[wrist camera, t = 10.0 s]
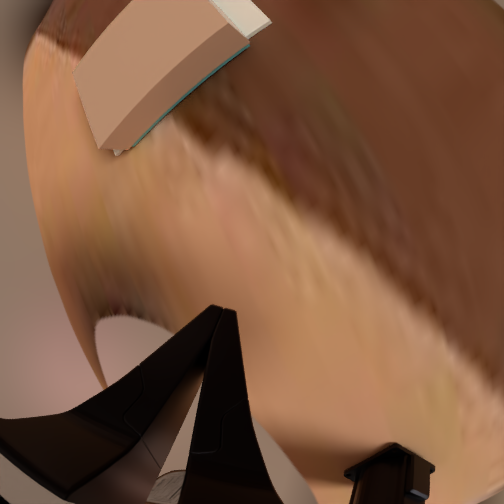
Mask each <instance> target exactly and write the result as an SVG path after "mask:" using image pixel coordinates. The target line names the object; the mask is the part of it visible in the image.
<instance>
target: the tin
mask: <svg viewBox="0 0 504 504" xmlns="http://www.w3.org/2000/svg"><path fill="white" fill-rule="evenodd" d="M185 471H186V470H174V471H170V472H168V473H165V474H163V475H162V476H160V477H158V478H157V480H156V482H155V484H154V486H153V488H152V490H151V492H150V494H149V496H148V498H147V501H146V503H145V504H178V500H179V496H180V492H181V488H182V484H183V480H184V476H185Z"/></svg>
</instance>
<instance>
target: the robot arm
mask: <svg viewBox="0 0 504 504" xmlns="http://www.w3.org/2000/svg"><path fill="white" fill-rule="evenodd" d="M202 381H203V382H202ZM201 383H202V387H201V392H200V397H199V403H198V408H197V413H196V418H195V423H194V429H193V434H192V440H191V445H190V450H189V457H188V462H187V466H186V471H185V476H184V480H183V484H182V488H181V492H180V496H179V500H178V504H284V503H283V502H282V500H281V498H280V497H279V496H278V494H277V492H276V490H275V488H274V486H273V484H272V482H271V480H270V477H269V474H268V472H267V469H266V466H265V463H264V460H263V457H262V454H261V451H260V448H259V445H258V442H257V438H256V434H255V431H254V427H253V423H252V417H251V412H250V406H249V400H248V393H247V386H246V379H245V372H244V365H243V357H242V350H241V342H240V335H239V327H238V320H237V312H236V311H235V310H232V309H228V308H224V309H223V307H221V306H217V305H214V304H212V305H210V306H208V307H207V308H206V309H205V310H204V311H202V312H201V313H200V314H199V315H198V316H197V317H195V318H194V319H193V320H192V321H191V322H189V323H188V324H187V325H186V326H185V327H183V328H182V329H181V330H180V331H179V332H177V333H176V334H175V335H174V336H173V337H171V338H170V339H169V340H168V341H167V342H165V343H164V344H163V345H162V346H161V347H159V348H158V349H157V350H156V351H155V352H153V353H152V354H151V355H150V356H148V357H147V358H146V359H145V360H144V361H142V362H141V363H140V366H139V365H138V366H136V367H135V368H134V369H133V370H131V371H130V372H129V373H128V374H126V375H125V376H124V377H122V378H121V379H120V380H119V381H117V382H116V383H114V384H112V385H111V386H109V387H108V388H106V389H105V390H103V391H102V392H100V393H98V394H97V395H95V396H93V397H92V398H90V399H89V400H87V401H85V402H83V403H82V404H80V405H78V406H77V407H75V408H73V409H71V410H69V411H66V412H64V413H60V414H54V415H47V416H39V417H30V418H19V419H2V418H0V504H145V503H146V501H147V498H148V496H149V494H150V492H151V490H152V488H153V486H154V484H155V482H156V480H157V477H158V475H159V473H160V471H161V469H162V467H163V465H164V462H165V460H166V458H167V456H168V454H169V452H170V450H171V447H172V445H173V443H174V441H175V439H176V436H177V435H178V433H179V430H180V428H181V426H182V424H183V422H184V420H185V418H186V415H187V413H188V411H189V409H190V407H191V405H192V402H193V400H194V398H195V396H196V394H197V392H198V389H199V387H200V385H201ZM434 471H435V466H434V465H433V464H431V463H429V462H427V461H426V460H424V459H422V458H421V457H419V456H417V455H416V454H414V453H412V452H411V451H409V450H407V449H406V448H404V447H402V446H401V445H399V444H393V445H391V446H389V447H388V448H386V449H384V450H383V451H381V452H379V453H377V454H376V455H374V456H372V457H370V458H368V459H367V460H365V461H363V462H361V463H359V464H357V465H355V466H353V467H351V468H349V469H347V470H345V472H344V476H345V477H346V478H348V479H350V480H352V481H354V486H353V490H352V494H351V498H350V502H349V504H425V500H427V499H428V498H429V491H430V474H431V473H433V472H434Z"/></svg>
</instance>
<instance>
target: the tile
mask: <svg viewBox="0 0 504 504" xmlns="http://www.w3.org/2000/svg"><path fill="white" fill-rule="evenodd" d="M249 43H250V41H249V40H248V39H247V38H246V37H245V35H244V34H243V33H242V32H241V31H240V30H239V28H238V27H237V26H236V25H235V24H234V23H233V22H232V21H231V19H230V18H229V17H228V16H227V15H226V14H225V13H224V12H223V11H222V10H221V9H220V8H219V7H218V5H217V4H216V3H215V2H214V1H213V0H132V1H131V2H130V3H129V4H128V5H127V6H126V8H125V9H124V10H123V11H122V12H121V13H120V14H119V15H118V16H117V17H116V18H115V19H114V20H113V21H112V23H111V24H110V25H109V26H108V27H107V28H106V29H105V31H104V32H103V33H102V34H101V35H100V37H99V38H98V39H97V40H96V41H95V43H94V44H93V45H92V46H91V48H90V49H89V50H88V52H87V53H86V54H85V55H84V57H83V58H82V59H81V61H80V62H79V64H78V65H77V66H76V68H75V69H74V71H73V72H72V74H73V77H74V80H75V83H76V87H77V90H78V93H79V96H80V99H81V102H82V105H83V108H84V111H85V114H86V117H87V119H88V122H89V125H90V128H91V130H92V133H93V136H94V138H95V141H96V144H97V146H98V149H115V150H129V149H130V147H134V146H135V145H136V144H137V143H138V142H139V141H140V140H141V139H142V138H143V137H144V136H145V135H146V134H147V133H148V132H149V131H150V130H151V129H152V128H153V127H154V126H155V125H156V124H157V123H158V122H159V121H160V120H161V119H162V118H163V117H164V116H165V115H166V114H167V113H168V112H169V111H171V110H172V109H173V108H174V107H175V106H176V105H177V104H178V103H179V102H180V101H181V100H183V99H184V98H185V97H186V96H187V95H188V94H189V93H191V92H192V91H193V90H194V89H195V88H196V87H198V86H199V85H200V84H201V83H202V82H204V81H205V80H206V79H207V78H208V77H210V76H211V75H212V74H213V73H215V72H216V71H217V70H218V69H220V68H221V67H222V66H223V65H225V64H226V63H227V62H229V61H230V60H231V59H233V58H234V57H235V56H237V55H238V54H239V53H241V52H242V51H244V50H245V49H246V48H248V47H249V46H250V45H249Z"/></svg>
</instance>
